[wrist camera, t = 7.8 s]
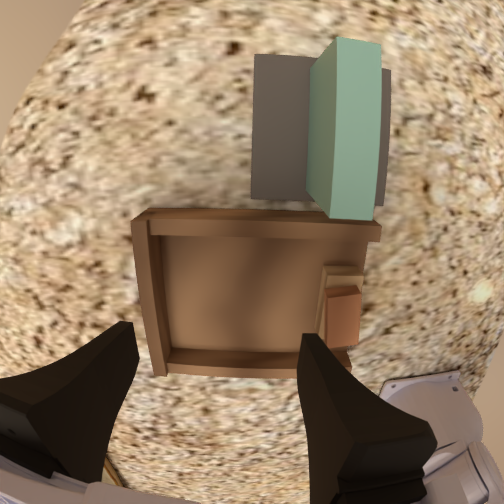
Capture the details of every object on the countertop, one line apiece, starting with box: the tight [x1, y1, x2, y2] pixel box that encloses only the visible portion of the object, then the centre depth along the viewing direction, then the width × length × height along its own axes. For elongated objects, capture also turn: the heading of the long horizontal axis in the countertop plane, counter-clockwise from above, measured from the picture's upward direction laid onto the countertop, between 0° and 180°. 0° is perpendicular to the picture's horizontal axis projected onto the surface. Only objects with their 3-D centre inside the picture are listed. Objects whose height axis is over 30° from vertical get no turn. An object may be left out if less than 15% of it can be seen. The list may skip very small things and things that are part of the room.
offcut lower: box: [315, 265, 364, 339], centre depth 21 cm, size 2×5×2 cm, turn 178°
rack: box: [131, 208, 382, 379], centre depth 21 cm, size 15×12×3 cm
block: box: [306, 37, 382, 221], centre depth 15 cm, size 2×8×7 cm, turn 178°
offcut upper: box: [324, 285, 362, 348], centre depth 20 cm, size 2×4×1 cm, turn 7°
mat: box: [251, 54, 391, 206], centre depth 18 cm, size 9×10×1 cm
